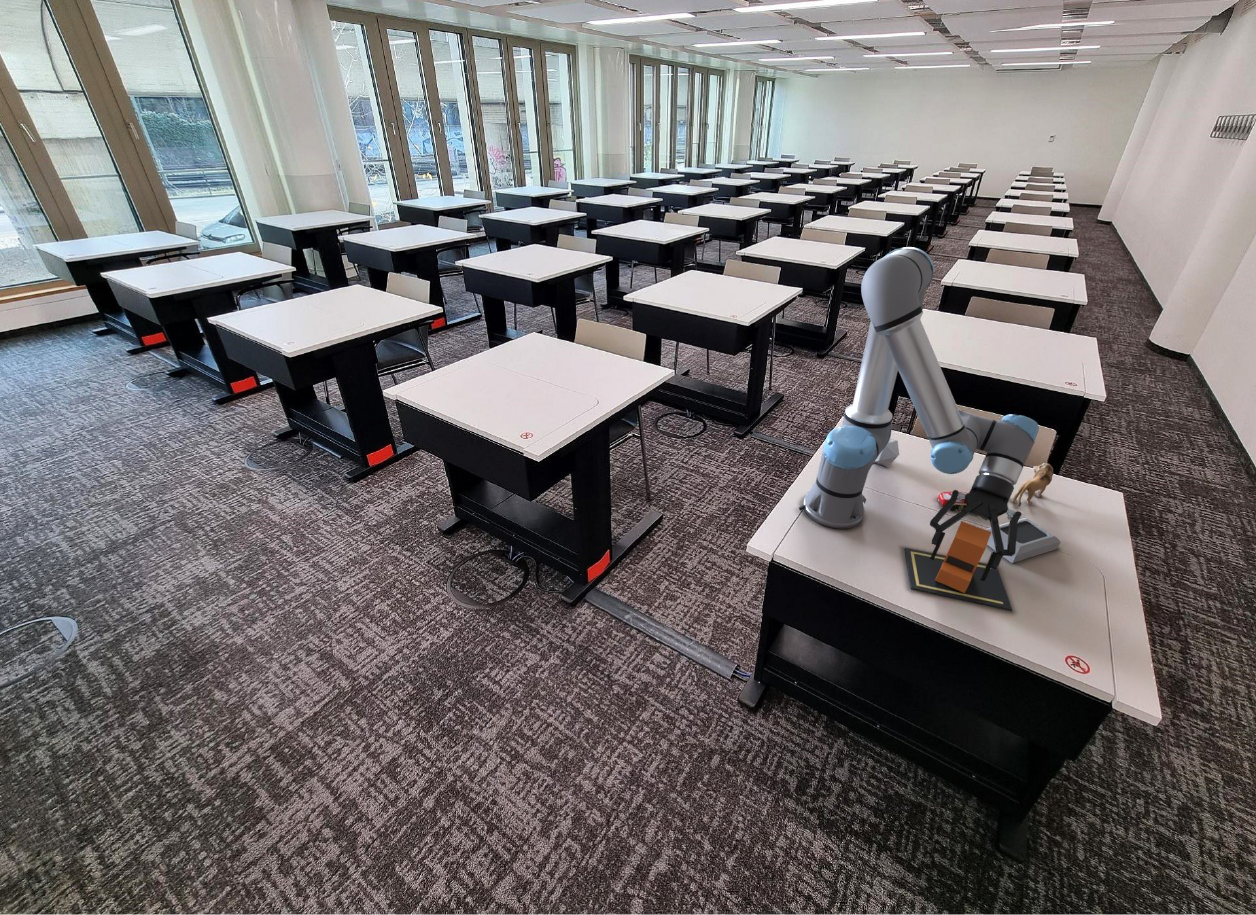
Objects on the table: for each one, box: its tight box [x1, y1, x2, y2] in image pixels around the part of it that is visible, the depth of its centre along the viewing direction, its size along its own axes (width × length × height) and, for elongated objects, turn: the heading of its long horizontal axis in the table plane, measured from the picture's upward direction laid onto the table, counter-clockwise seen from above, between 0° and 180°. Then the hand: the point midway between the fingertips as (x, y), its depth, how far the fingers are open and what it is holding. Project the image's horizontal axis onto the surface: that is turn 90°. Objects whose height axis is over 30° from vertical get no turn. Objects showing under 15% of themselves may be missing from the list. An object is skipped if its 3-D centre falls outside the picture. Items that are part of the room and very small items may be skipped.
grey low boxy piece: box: [983, 517, 1061, 564], centre depth 132 cm, size 10×4×15 cm
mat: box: [903, 547, 1013, 612], centre depth 122 cm, size 20×14×1 cm
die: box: [873, 437, 900, 468], centre depth 161 cm, size 8×9×10 cm
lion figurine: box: [1011, 462, 1054, 508], centre depth 146 cm, size 15×5×9 cm, turn 131°
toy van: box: [935, 520, 991, 593], centre depth 119 cm, size 10×6×12 cm, turn 141°
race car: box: [936, 491, 968, 512], centre depth 144 cm, size 13×5×4 cm, turn 76°
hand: (956, 569), depth 119 cm, fingers open, 10 cm apart
